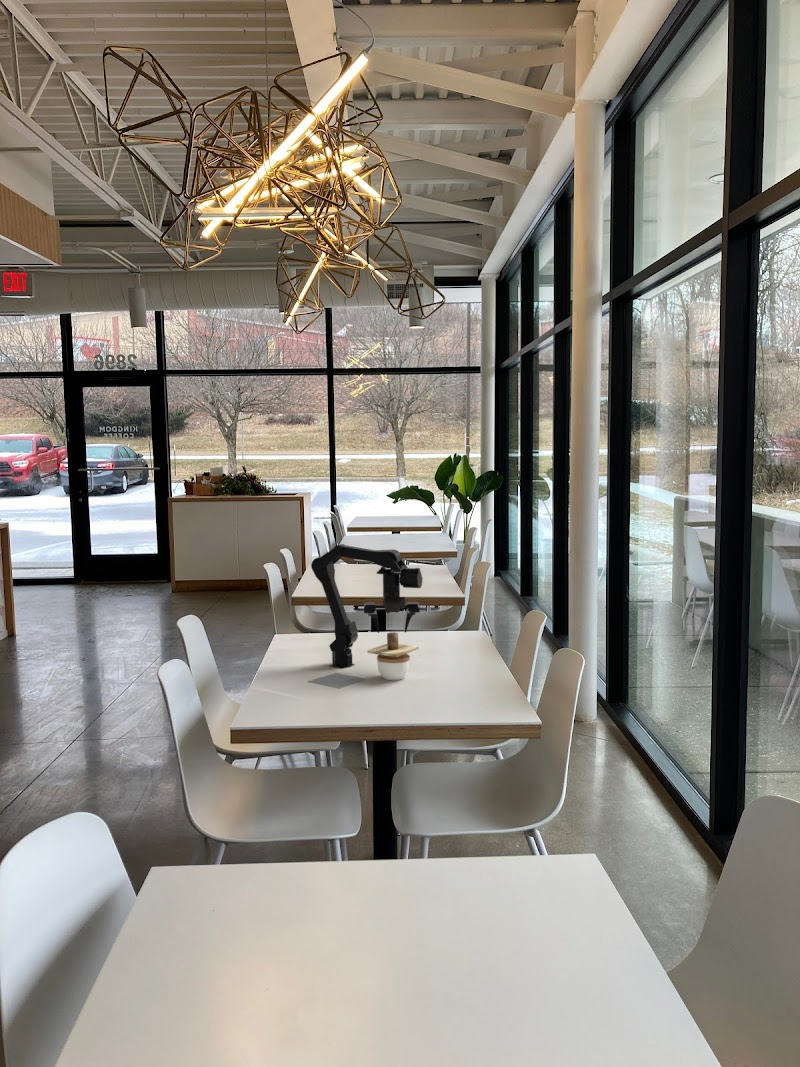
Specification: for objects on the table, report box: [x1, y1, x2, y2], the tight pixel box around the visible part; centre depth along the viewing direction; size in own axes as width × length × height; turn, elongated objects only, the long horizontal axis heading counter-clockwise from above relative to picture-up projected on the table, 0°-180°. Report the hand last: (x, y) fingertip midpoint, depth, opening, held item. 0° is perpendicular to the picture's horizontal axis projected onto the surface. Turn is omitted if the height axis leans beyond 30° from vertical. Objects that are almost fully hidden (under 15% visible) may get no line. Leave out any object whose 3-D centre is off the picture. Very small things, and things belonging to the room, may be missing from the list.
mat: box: [307, 672, 367, 689], centre depth 290 cm, size 14×14×1 cm
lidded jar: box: [376, 653, 411, 681], centre depth 292 cm, size 11×11×9 cm
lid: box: [366, 631, 420, 657], centre depth 291 cm, size 12×12×6 cm
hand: (391, 632), depth 303 cm, fingers open, 9 cm apart
